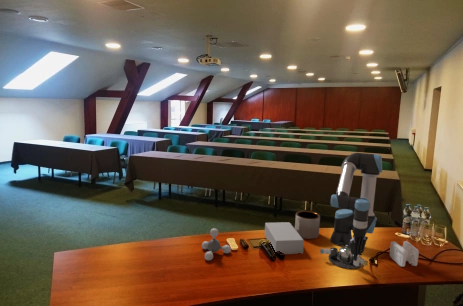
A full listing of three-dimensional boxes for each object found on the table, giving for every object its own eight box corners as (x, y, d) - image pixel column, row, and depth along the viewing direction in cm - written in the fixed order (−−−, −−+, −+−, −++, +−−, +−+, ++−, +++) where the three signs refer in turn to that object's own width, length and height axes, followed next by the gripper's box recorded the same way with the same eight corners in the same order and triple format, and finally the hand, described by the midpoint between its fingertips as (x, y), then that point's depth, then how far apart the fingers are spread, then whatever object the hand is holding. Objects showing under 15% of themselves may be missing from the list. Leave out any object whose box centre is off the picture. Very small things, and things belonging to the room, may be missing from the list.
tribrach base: (321, 256, 206) (322, 245, 205) (344, 250, 216) (345, 239, 214) (345, 272, 189) (347, 259, 188) (369, 264, 198) (370, 252, 197)
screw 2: (349, 263, 196) (350, 254, 195) (354, 261, 198) (355, 252, 197) (363, 271, 187) (364, 261, 186) (368, 269, 189) (369, 260, 188)
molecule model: (201, 269, 201) (213, 252, 189) (189, 248, 208) (200, 230, 197) (225, 259, 214) (238, 242, 203) (213, 240, 222) (225, 222, 210)
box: (289, 234, 240) (289, 222, 238) (303, 253, 210) (304, 239, 209) (264, 235, 237) (265, 222, 236) (275, 254, 208) (275, 240, 206)
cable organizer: (418, 268, 195) (420, 251, 193) (401, 268, 195) (403, 250, 193) (403, 256, 210) (406, 240, 208) (388, 256, 209) (390, 239, 207)
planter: (319, 232, 245) (321, 212, 242) (317, 241, 229) (319, 220, 226) (296, 228, 251) (297, 209, 248) (292, 237, 234) (293, 216, 232)
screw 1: (350, 256, 205) (351, 247, 204) (343, 254, 208) (344, 245, 207) (354, 250, 214) (355, 241, 213) (347, 248, 216) (348, 239, 215)
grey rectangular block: (335, 256, 204) (336, 247, 203) (337, 259, 200) (338, 250, 199) (319, 255, 205) (320, 246, 204) (321, 259, 200) (321, 250, 199)
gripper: (357, 231, 176) (353, 270, 180) (373, 227, 182) (369, 265, 186) (346, 226, 183) (342, 264, 187) (362, 222, 189) (358, 259, 193)
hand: (355, 265), depth 187 cm, fingers closed
